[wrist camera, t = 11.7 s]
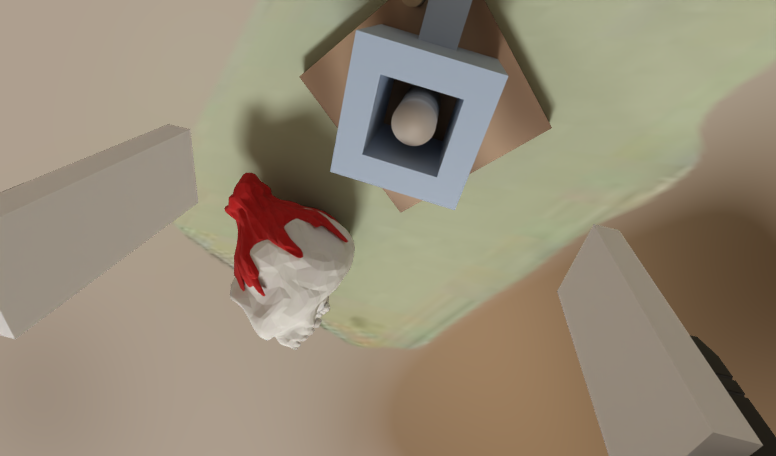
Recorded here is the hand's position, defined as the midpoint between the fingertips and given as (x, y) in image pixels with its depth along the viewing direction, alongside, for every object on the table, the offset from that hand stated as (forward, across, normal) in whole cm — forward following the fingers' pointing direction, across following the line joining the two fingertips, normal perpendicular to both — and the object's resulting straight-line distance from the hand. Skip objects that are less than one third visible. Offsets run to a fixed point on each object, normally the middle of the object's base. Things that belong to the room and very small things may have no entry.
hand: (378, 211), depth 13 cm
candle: (+18, -8, -14) cm, 25 cm away
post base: (+18, 0, 0) cm, 18 cm away
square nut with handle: (+17, 0, +2) cm, 17 cm away
